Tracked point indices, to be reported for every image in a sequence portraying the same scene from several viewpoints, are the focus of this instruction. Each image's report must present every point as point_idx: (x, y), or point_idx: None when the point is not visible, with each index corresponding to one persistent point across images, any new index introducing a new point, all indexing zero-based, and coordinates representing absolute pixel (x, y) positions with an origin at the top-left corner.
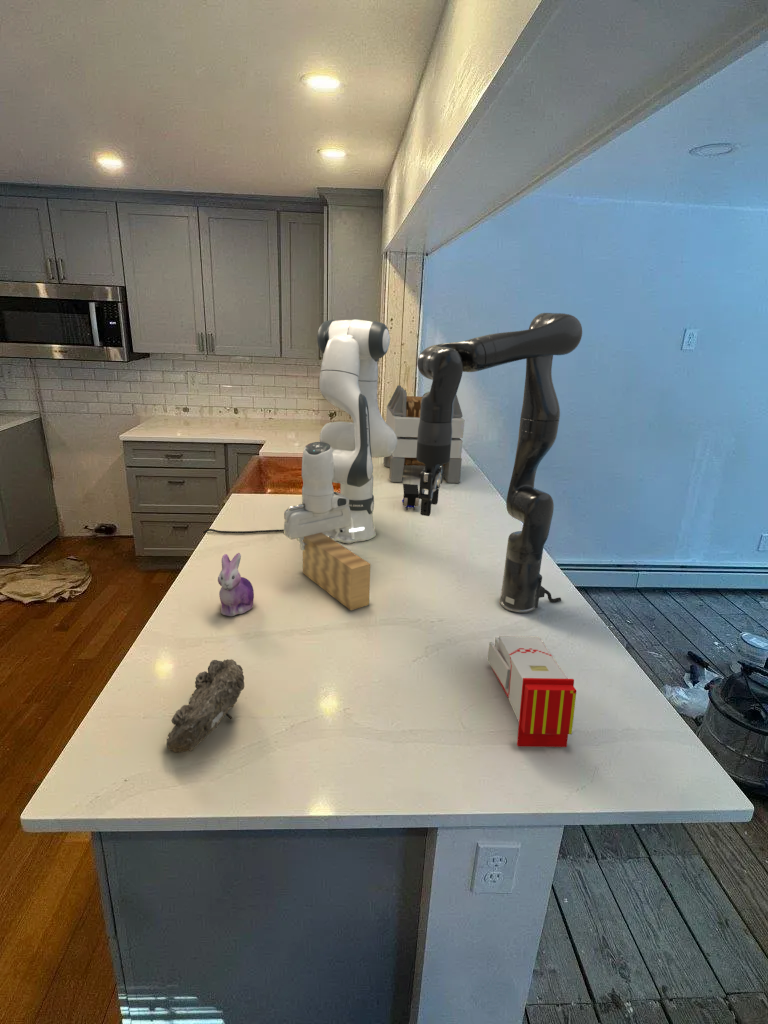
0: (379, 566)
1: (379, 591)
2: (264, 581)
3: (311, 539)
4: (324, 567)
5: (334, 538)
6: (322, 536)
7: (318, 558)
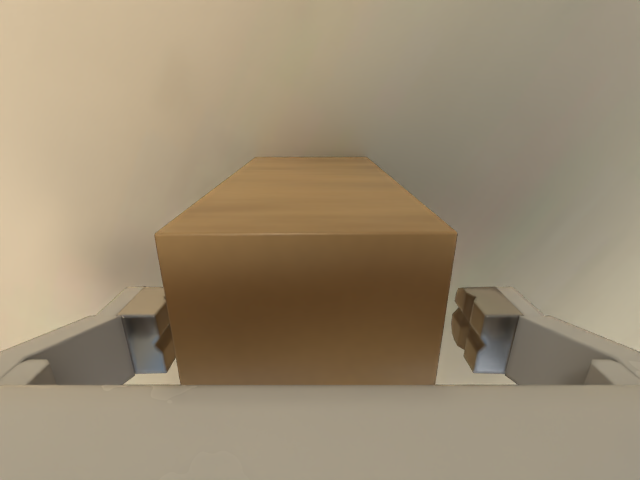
0: (628, 289)
1: None
2: (20, 135)
3: None
4: None
5: (506, 366)
6: (379, 380)
7: None
